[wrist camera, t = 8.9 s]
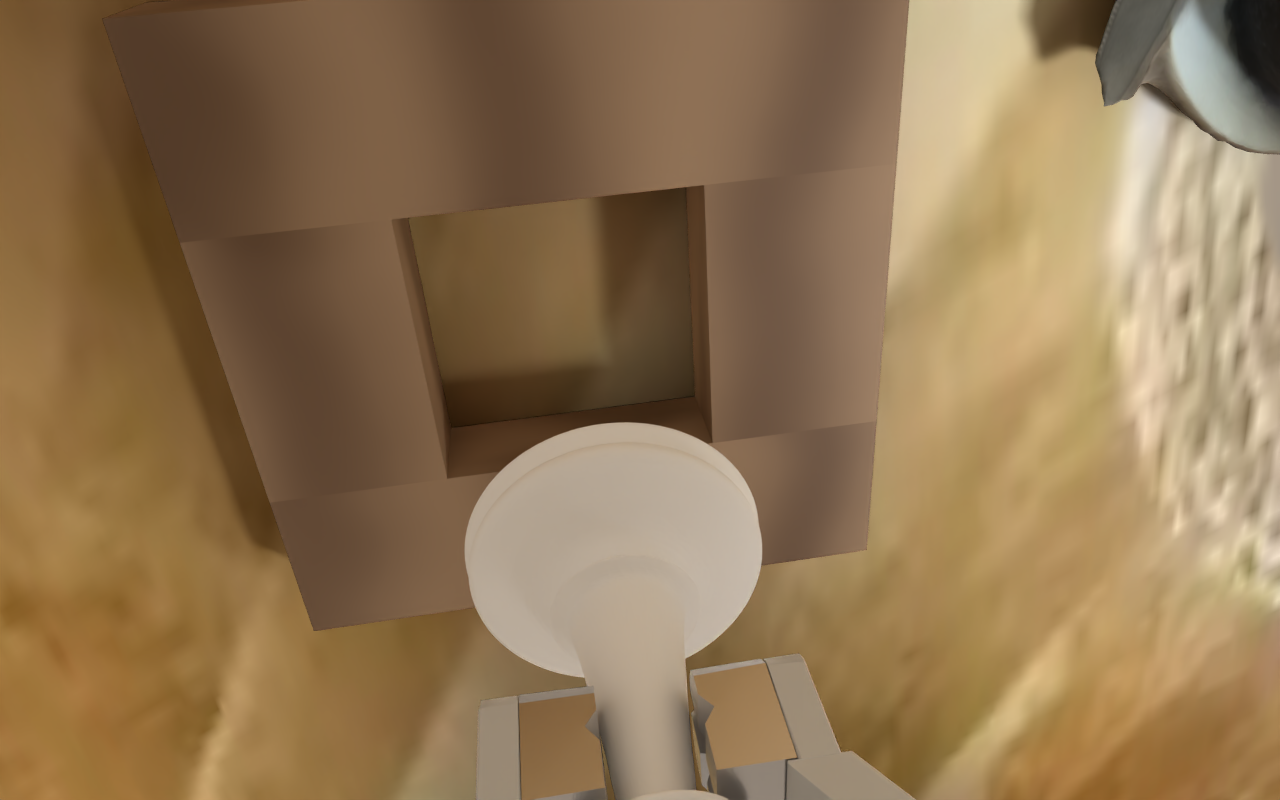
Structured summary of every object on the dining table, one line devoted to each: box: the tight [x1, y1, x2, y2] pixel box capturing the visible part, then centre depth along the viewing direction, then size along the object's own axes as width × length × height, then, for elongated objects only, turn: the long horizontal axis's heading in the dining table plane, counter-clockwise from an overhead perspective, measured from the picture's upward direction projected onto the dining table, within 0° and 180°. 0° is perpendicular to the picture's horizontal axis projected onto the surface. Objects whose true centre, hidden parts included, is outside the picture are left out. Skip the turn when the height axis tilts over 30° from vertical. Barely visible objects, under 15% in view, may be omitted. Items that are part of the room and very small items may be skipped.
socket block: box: [102, 0, 909, 631], centre depth 23 cm, size 16×16×2 cm
